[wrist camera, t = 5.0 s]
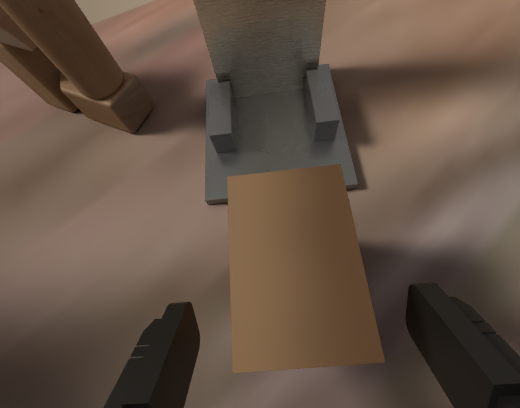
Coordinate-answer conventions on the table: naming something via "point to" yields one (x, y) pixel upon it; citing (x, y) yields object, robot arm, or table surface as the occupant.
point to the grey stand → (268, 92)
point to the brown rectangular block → (297, 273)
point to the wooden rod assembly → (69, 62)
